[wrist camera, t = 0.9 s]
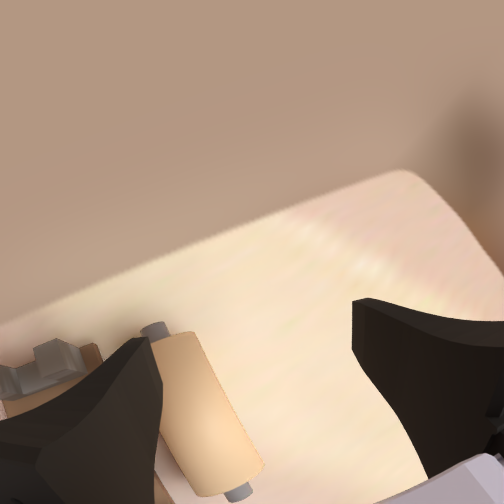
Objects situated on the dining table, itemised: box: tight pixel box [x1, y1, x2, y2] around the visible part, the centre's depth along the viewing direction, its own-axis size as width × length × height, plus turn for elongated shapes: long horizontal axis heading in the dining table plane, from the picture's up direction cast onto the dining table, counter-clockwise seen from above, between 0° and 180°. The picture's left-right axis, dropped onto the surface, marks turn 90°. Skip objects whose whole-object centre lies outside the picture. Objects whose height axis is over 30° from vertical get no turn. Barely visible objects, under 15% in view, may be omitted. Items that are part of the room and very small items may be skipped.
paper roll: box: [140, 322, 265, 503], centre depth 18 cm, size 13×5×5 cm, turn 27°
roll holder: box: [0, 338, 175, 504], centre depth 15 cm, size 15×10×5 cm, turn 27°
